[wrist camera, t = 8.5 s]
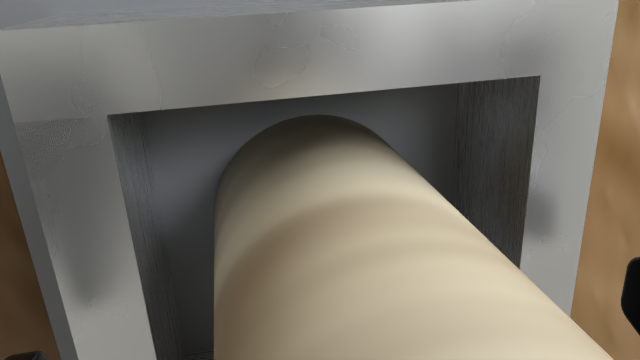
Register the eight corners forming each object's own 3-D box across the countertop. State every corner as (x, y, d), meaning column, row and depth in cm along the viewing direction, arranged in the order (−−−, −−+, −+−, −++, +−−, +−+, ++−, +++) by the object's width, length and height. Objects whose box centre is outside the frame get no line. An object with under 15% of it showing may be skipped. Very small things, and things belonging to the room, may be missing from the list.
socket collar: (486, 341, 14) (552, 429, 11) (141, 402, 13) (122, 519, 10) (516, -13, 11) (620, -10, 8) (53, 15, 9) (-13, 31, 7)
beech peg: (407, 280, 13) (748, 816, 5) (226, 307, 12) (251, 991, 4) (409, 105, 11) (941, 450, 3) (201, 125, 11) (155, 641, 2)
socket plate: (510, 378, 16) (528, 403, 15) (105, 455, 14) (98, 488, 13) (567, -145, 11) (600, -155, 10) (-56, -133, 9) (-86, -146, 8)
